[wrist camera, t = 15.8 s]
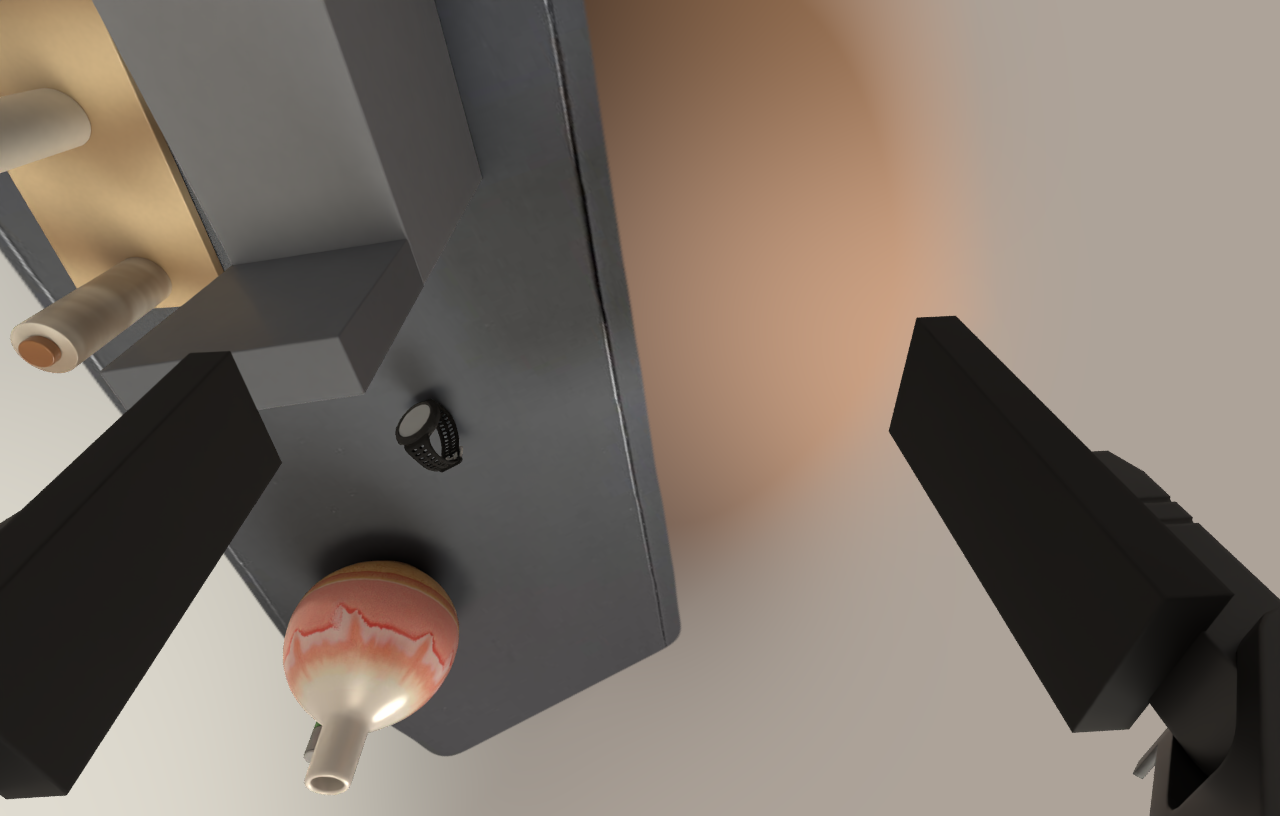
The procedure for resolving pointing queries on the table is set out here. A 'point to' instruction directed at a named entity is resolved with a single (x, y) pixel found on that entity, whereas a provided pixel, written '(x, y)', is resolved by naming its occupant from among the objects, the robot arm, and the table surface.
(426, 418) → the smartwatch
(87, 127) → the white cell
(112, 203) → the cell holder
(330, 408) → the table surface
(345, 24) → the grey stand
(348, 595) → the vase
